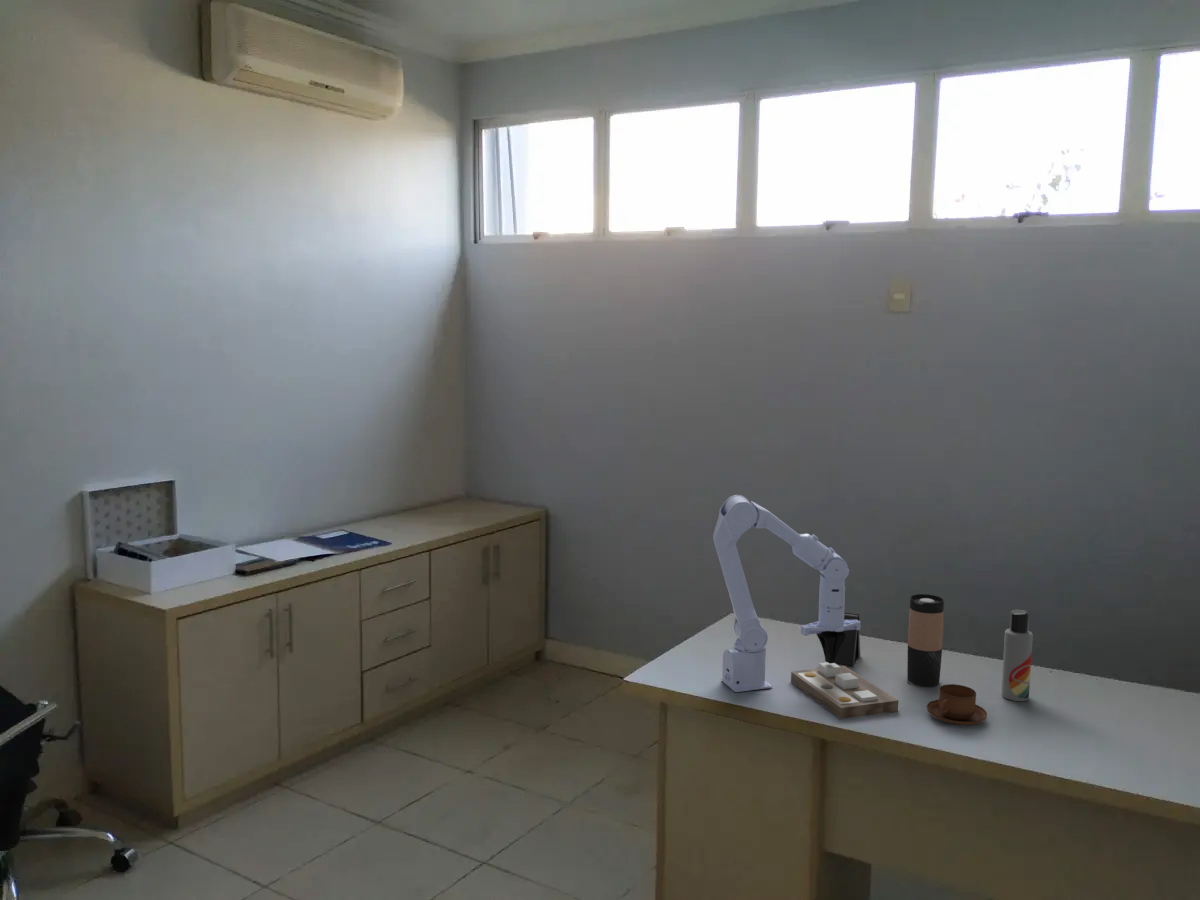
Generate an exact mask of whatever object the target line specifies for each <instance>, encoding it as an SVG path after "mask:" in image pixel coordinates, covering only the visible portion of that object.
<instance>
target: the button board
mask: <svg viewBox="0 0 1200 900" xmlns="http://www.w3.org/2000/svg"><path fill="white" fill-rule="evenodd" d="M839 666H840V667H841V669H840V674H844V673H851V674H852V675H854V676H855V677H857V678H858V688H851V689H842V688H841V687H839V686H838V685H836V684H835V680H836V676H834V677H825V676H823V675H822V674H820V673H819V668H811V669H803V670H794V671H791V672H790V683H792V684H793V685H795V687H797V688H799V689H800V690H802V692H804V693H805V694H807V695H808V696H809V697H810V698H811V699H813V700H814V701H816V702H817V703H818V704H820V705H821V706H823V707H824V708H825V709H827V710H828V711H829V712H830V713H832V714H833V715H834V716H836V717H837V718H839V719H840V720H844V719H853V718H860V717H867V716H875V715H881V714H882V715H883V714H889V713H897V712H899V699H897V698H896V697H894V696H893V695H891V694H889V693H888V692H887V691H884V690H883V689H882V688H879V686H877V685H875V684H874V683H872V682H871V681H869V680H867V679H866V678H864V677H862V676H861V675H860V674H858V673H857V672H855V671H853V670H852V669H850V668H848V666H843V665H839ZM865 690H869V691H870V692H872V693H873V694H875V695H876V696H877V700H875V701H868V702H861V701H860V700H858V699H857V698H855V697H854V696H853V692H857V691H865Z"/></svg>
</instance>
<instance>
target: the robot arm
mask: <svg viewBox="0 0 1200 900" xmlns="http://www.w3.org/2000/svg"><path fill="white" fill-rule="evenodd" d="M718 513H719V515H718V518H717V521H716V524H715V528H714V532H713V534H712V535H713V536H712V540H713V544H714V547H715V550H716V554H717V557H718V561H719V564H720V568H721V571H722V574H723V578H724V582H725V585H726V588H727V591H728V595H729V596H728V597H729V599H730V602H731V605H732V609H733V612H732V613H733V615H734V622H733V623H734V624H733V631H734V633H735V634H736V636H737V639H736V640H735V642H734V646H732V647H731V648H728V649H725V650H724V651H723V654H722V677H721V678H720V680H721V681H722V683H724V684H725V685H726V686H727V687H728V688H729V689H731V690H732V691H733V692H735V693H739V692H741V693H742V692H747V691H748V692H749V691H757V690H764V689H766V690H767V689H771V688H773V685H772V684H770V683H769V682H768V681H767V680H766V655H767V654H766V652H767V651H766V649H767V646H766V645H767V643H768V633H767V630H765V628H764V627H763V626H762V624H761V621H760V619H759V617H758V615H757V612H756V610H755V606H754V603H753V599H752V597H751V592H750V590H749V589H750V588H749V586H748V582H747V579H746V575H745V571H744V567H743V565H742V562H741V558H740V554H739V551H738V548H737V542H738V541H739V539H740V538H741V536H742V535H743V534H744V533H745V532H747V531H748V530H749V529H750V528H752V527H754V528H755V529H767V530H768V531H769V532H771V533H772V534H774V535H776V536H777V537H779V538H780V539H781V540H783V541H784V542H786V543H788V544H789V545H791V550H792V553H793V555H794V556H796V557H797V558H799V559H800V560H801V561H803V562H804V563H805V564H807V565H808V566H810V567H811V568H813V569H814V570H818V572H819V573H820V574H819V586H818V587H819V588H818V589H819V591H818V593H819V596H818V621H814V622H810V623H808V624H801V625H800V634H801V635H802V636H805V637H808V636H809V635H813V634H814V635H816V636H817V638H818V640H819V643H820V645H821V647H822V651H823V655H824V660H825V661H824V662H828V663H830V664H831V663H835V660H836V656H837V653H838V651H839V648H840V646H841V644H842V643H843V641H844V640H845V639H846V634H845V633H843V631H845V630H854V629H855V630H859V631H860V630H861V627H862V624H861V623H862V622H861V621H860V620H859V621H858V620H844V613H845V600H846V599H845V597H846V596H845V595H846V586H845V585H846V579H847V578H848V576H849V574H850V569H849V566H848V564H847V562H846V560H845V559H844V558H843V557H841V556H840V555H839V554H838V553H837V552H836V551H835V549H834V548H832V547H827V545H825V544H823V543H822V542H821V541H819V537H818V536H816V535H815V534H812V535H811V534H809V533H799V532H797V531H795V530H794V529H793V528H791V526H790V525H788V524H787V523H785V522H784V521H782V520H781V519H780V518H778V517H777V515H775V514H773V513H772V512H771V511H769V510H768V509H767V508H765V507H763V506H761V505H760V504H758V503H757V502H754V501H752V500H751V501H749V499H748V498H747V497H746V496H744V495H741V494H735V495H732V496H731V495H730V496H729V497H728V498H727V499H726V500H725V501H724V503H723V504H722V505H721V506H720V507H719V512H718Z"/></svg>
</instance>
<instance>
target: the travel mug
mask: <svg viewBox="0 0 1200 900" xmlns="http://www.w3.org/2000/svg"><path fill="white" fill-rule="evenodd" d="M909 599H910V600H909V613H908V615H909V616H908V617H909V618H908V631H907V633H908V634H907V661H906V662H907V666H906V667H907V668H906V669H907V670H906V671H907V672H906V674H907V681H908V683H910V684H912V685H915V686H919V687H924V688H925V687H926V688H930V687H931V688H933V687H936V686H938V685H940V680H941V679H940V678H941V667H942V656H943V643H944V642H943V638H944V637H943V635H944V612H945V599H944V598H942V597H941V596H938V595H933V594H928V593H927V594H926V593H925V594H924V593H919V594H912V595H910V598H909Z"/></svg>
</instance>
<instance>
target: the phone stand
mask: <svg viewBox="0 0 1200 900" xmlns="http://www.w3.org/2000/svg"><path fill="white" fill-rule="evenodd" d="M844 620H858V621H860V614H857V613H848V612H844ZM843 633H845V634H846V639H845V640H844V641H843V643H842V644H841V646H840V648H839V651H838V653H837V656H836V660H835V664H837V665H838V666H846V667H850V668H854V667H855V665H856V664H857V662H858V660H859V659H860V658H861V641H860V640H861V638H860V630H855V629H854V630H845V631H843Z"/></svg>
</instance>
